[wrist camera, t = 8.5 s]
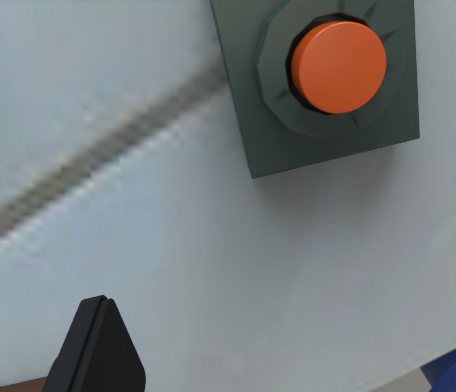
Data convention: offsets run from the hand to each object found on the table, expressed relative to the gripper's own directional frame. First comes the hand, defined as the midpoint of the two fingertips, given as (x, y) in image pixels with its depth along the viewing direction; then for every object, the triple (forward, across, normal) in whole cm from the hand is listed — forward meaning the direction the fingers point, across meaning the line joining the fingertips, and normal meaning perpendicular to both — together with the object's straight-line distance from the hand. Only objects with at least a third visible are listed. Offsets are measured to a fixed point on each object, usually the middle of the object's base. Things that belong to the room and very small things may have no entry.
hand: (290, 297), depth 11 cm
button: (+10, -5, -4) cm, 12 cm away
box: (+13, -5, -4) cm, 15 cm away
